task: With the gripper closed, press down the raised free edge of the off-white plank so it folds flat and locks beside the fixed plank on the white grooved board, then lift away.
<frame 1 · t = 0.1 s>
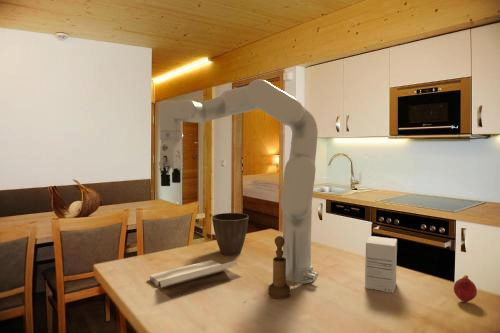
hand: (171, 184, 129), 31 cm above the table, tool pointing down, fingers open, 9 cm apart
onion: (464, 302, 105), on the table
pale plank: (200, 273, 116), point 4 cm above the table, hinge at 25.0°
white grooved board: (195, 282, 119), on the table
plant pot: (230, 255, 148), on the table
mortar and pestle: (279, 295, 110), on the table
supplement box: (380, 286, 117), on the table
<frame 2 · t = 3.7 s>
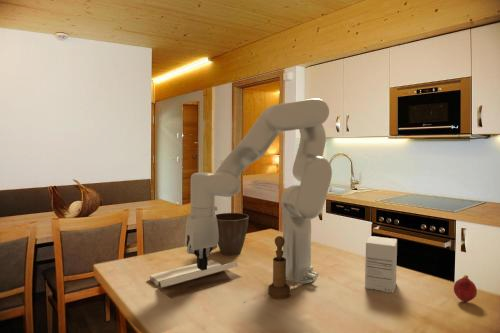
hand: (202, 268, 115), 6 cm above the table, tool pointing down, fingers closed
pale plank: (200, 273, 116), point 4 cm above the table, hinge at 23.0°, touching gripper
everything else where it was.
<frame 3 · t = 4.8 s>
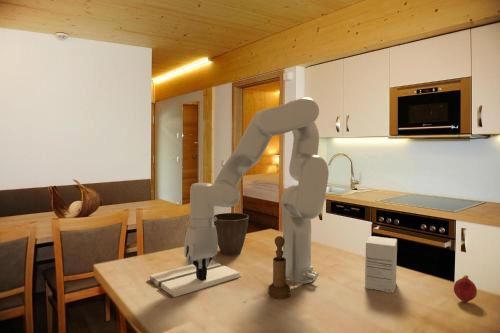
hand: (201, 279, 115), 3 cm above the table, tool pointing down, fingers closed
pale plank: (201, 279, 116), point 2 cm above the table, hinge at 0.3°, touching gripper
everything else where it was.
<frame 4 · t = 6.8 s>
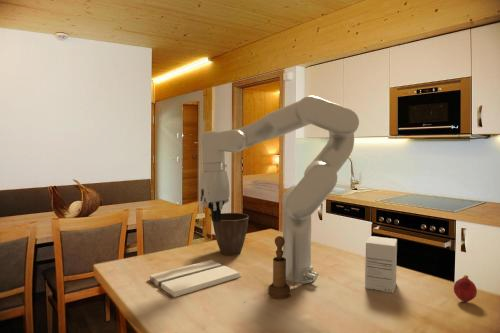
hand: (216, 221, 123), 19 cm above the table, tool pointing down, fingers closed
pale plank: (201, 279, 116), point 2 cm above the table, hinge at 0.1°
everything else where it was.
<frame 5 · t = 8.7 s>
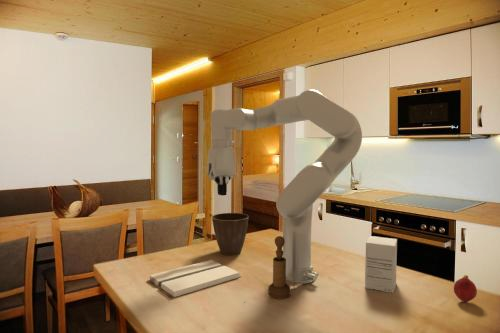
hand: (222, 194, 131), 27 cm above the table, tool pointing down, fingers closed
nothing on the table moved.
at the end: pale plank at +0° (first picture: +25°) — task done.
